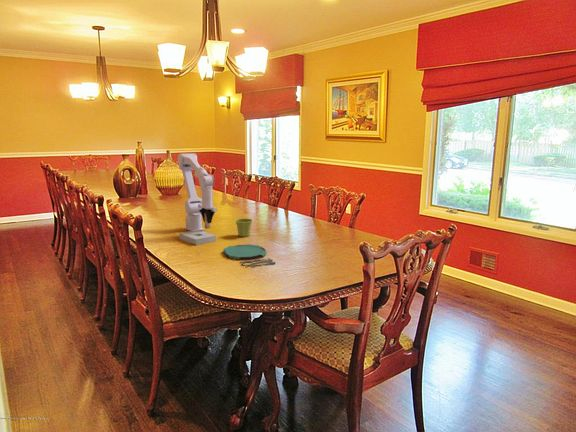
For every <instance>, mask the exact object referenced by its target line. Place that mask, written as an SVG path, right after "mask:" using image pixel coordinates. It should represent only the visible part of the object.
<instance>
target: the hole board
mask: <svg viewBox="0 0 576 432" xmlns="http://www.w3.org/2000/svg"><path fill="white" fill-rule="evenodd" d="M178 237H179V238H178V239H179V240H181V241H183V242H185V243H189V244H192V245H195V246H199V245H200V246H201V245H205V244H208V242H209V243H213V241H214V242H216V241H217V235H216V234H213V233H210V232H207V231H204V230H195V231H190V230H189V231H185V232H180V233H178ZM204 243H205V244H204Z"/></svg>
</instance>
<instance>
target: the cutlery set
mask: <svg viewBox="0 0 576 432" xmlns="http://www.w3.org/2000/svg"><path fill="white" fill-rule="evenodd" d="M222 251H223V254H224V255H225V256H227V257H229V258H230V259H233V260H238V259H245V260H242V261H240V262H239V263H238V264H240V265H241V266H243V265H242V264H244V265H246V264H245V263H253V265H252V264H249V267H251V268H256V267H255V266H257V267H262V266H261V265H265V266H269V265H268V264H271V265H276V261H273V259H272V258H270V257H269V258H268V260H266V259H267V258H263V259H262V258H261V259H260V258H258V257H261V256H262V257H265V256H266V255H267V251H266V249H265V248H264V247H262V246H260V245H257V244H250V243H249V244H238V245H230V246H226V247H225V248H223V250H222ZM255 258H257V259H255ZM247 259H251V260H247ZM253 259H254V260H253ZM251 261H253V262H251ZM255 261H256V262H255ZM242 262H245V263H242ZM255 263H256V264H255Z"/></svg>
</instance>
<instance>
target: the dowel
mask: <svg viewBox="0 0 576 432" xmlns="http://www.w3.org/2000/svg"><path fill="white" fill-rule="evenodd" d="M204 228H205V230H206V229H211V223H207V217H206V213H205V222H204Z"/></svg>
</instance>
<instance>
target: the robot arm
mask: <svg viewBox="0 0 576 432" xmlns="http://www.w3.org/2000/svg"><path fill="white" fill-rule="evenodd" d="M176 161H177V164H178V169H179V170H180V171H181V172H182V173H181V174H182V177H183V182H184V184H185V188H186V189H185V190H186V193H187V200H185V201H184V210H185V213H186V216H185V227H184V229H185V230H188V231H189V232H190V231H195V230H200V231H204V230H206V228H205V227H203V223H205V213H206V217H207V223H210V224H212V222H213V217H214V215H215V213H216V212H217V210H218V209H217V207H215V206H214V205H213V186H214V185H215V177H214V176H213V175H212V174H209V173H208V172H207V170H206V169H205V168H204V166H201V165H200V164H199V162H198V155H197V154H196V153H195V152H193V153H191V152H190V153H182V152H181V153H179V154H178V155H177V160H176ZM192 170H194V174H195V176H196V177H197V179H198V180H199V181H198V183H199V187H200V190H201V191H200V192H201V198H200V197H199V196H198V195H197V190H196V186H195V182H194V177H193V173H192ZM202 221H203V222H202Z"/></svg>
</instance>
